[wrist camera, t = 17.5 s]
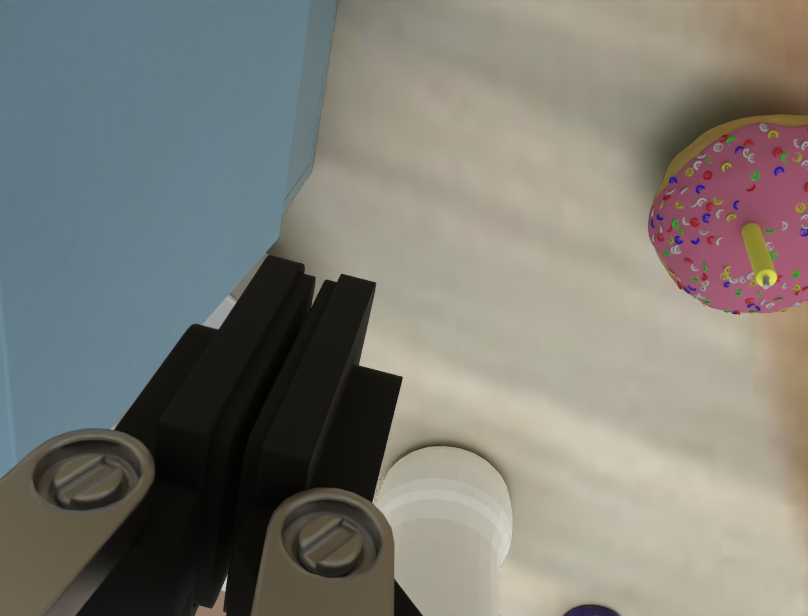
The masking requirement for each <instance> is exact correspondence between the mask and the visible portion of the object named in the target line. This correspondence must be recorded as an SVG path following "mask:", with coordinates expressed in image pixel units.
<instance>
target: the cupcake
mask: <svg viewBox="0 0 808 616" xmlns="http://www.w3.org/2000/svg"><path fill="white" fill-rule="evenodd" d="M648 232H649V237H650V240H651V242H652V244H653V246H654V247H655V249H656V252H657V254H658V257H659V259H660V260H661V262H662V264H663V265H664V267H665V269H666V270H667V272H668V273H669V275H670V276H671V277H672V279H673V280H674V281H675V283H676V284H677V285H678V287H679V289H683V290H684V291H685V292H687V293H688V294H690V295H692V296H693V297H694V298H695V299H698V300H700V301H701V302H702V304H703V306H704V307H705V304H706V305H707V306H709V307H711V308H715V309H720V310H724V312H732V314H739V315H740V312H743V313H772V312H778V311H782V312H784V311H787V310H788V309H789V308H791V307H798V306H800V303H802V302H804V301H807V300H808V115H763V116H753V117H746V118H741V119H737V120H733V121H730V122H727V123H724V124H721V125H719V126H716V127H714V128H712V129H710V130H708V131H706V132H705V133H703V134H702V135H701V136H699V137H698V138H697V139H696V140H695V141H694V142H692V143H691V144H690V145H689V146H688V147H686V148H685V149H684V150H682V151H681V152H680V153H678V154H677V155H676V156H675V157H674V159H673V160H672V161H671V163H670V165H669V167H668V169H667V171H666V173H665V176H664V178H663V181H662V183H661V185H660V187H659V189H658V191H657V193H656V194H655V197H654V200H653V205H652V207H651V210H650V214H649V221H648ZM726 310H727V311H726Z"/></svg>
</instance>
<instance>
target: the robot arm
mask: <svg viewBox="0 0 808 616" xmlns="http://www.w3.org/2000/svg"><path fill="white" fill-rule="evenodd" d="M304 272H305V266H304V264H302V263H298V262H294V261H290V260H286V259H282V258H278V257H274V256H270V255H268V256H267V257H266V258H265V260H264V261H263V263H262V264H261V266H260V267H259V269H258V270H257V272H256V273H255V275H254V277H253V278H252V280H251V281H250V283H249V284H248V286H247V287H246V289H245V290H244V292H243V293H242V295H241V296H240V298H239V299H238V301H237V302H236V304H235V305H234V307H233V308H232V310H231V311H230V313H229V314H228V316H227V317H226V319H225V320H224V322H223V323H222V325H221V326H220V328H219V329H215V328H211V327H208V326H204V325H200V324H192V325H191V326H190V327H189V328H188V329H187V330H186V331H185V333H184V334H183V336H182V337H181V338H180V340H179V341H178V342H177V344H176V345H175V347H174V348H173V349H172V351H171V352H170V353H169V355H168V356H167V358H166V359H165V360H164V362H163V363H162V364H161V366H160V367H159V369H158V370H157V371H156V373H155V374H154V375H153V377H152V378H151V380H150V381H149V382H148V384H147V385H146V386H145V388H144V389H143V391H142V392H141V393H140V395H139V396H138V397H137V399H136V400H135V401H134V403H133V404H132V406H131V407H130V408H129V410H128V411H127V412H126V414H125V415H124V417H123V418H122V419H121V421H120V422H119V423H118V425H117V426H116V428H115V429H114V430H111V429H102V428H86V429H80V430H74V431H68V432H65V433H63V434H60V435H57V436H55V437H52V438H50V439H48V440H46V441H45V442H43V443H42V444H41V445H39V446H38V447H36V448H35V449H33V450H32V451H31V452H30V453H29V454H28V455H26V456H25V457H24V458H23V459H22V460H21V461H20V462H19V463H17V464H16V465H15V466H14V467H13V468H12V469H11V470H10V471H8V472H7V473H6V474H5V475H4V476H3V477H2V478H1V479H0V616H195V613H196V611H197V609H198V606H199V605H200V606H204V607H208V608H212V607H213V606H214V604H215V602H216V600H217V598H218V596H219V593H220V591H221V588H222V586H223V584H224V581H225V579H226V577H227V574H228V577H227V584H226V592H225V600H224V609H223V611H224V612H226V613H227V614H226V616H423V615H422V614H421V612H420V611H419V610H418V609H417V607H416V606H415V605H414V603H413V602H412V601H411V599H410V598H409V597H408V595H407V594H406V593H405V592H404V590H403V589H402V588H401V586H400V585H399V584H398V582H397V581H396V580H395V579H394V546H395V544H394V538H393V533H392V528H391V526H390V525H389V523H388V521H387V519H386V518H385V516H384V514H383V513H382V512H381V511H380V510H379V509H378V508H377V507H376V506H375V505H374V504H372V501H373V497H374V493H375V488H376V484H377V480H378V476H379V472H380V468H381V464H382V460H383V456H384V452H385V448H386V444H387V440H388V436H389V432H390V428H391V424H392V419H393V415H394V411H395V407H396V403H397V399H398V395H399V391H400V387H401V383H402V379H403V377H401V376H397V375H393V374H390V373H386V372H382V371H378V370H374V369H370V368H366V367H362V366H359V362H360V357H361V353H362V348H363V344H364V339H365V335H366V330H367V325H368V321H369V316H370V312H371V307H372V303H373V298H374V294H375V288H376V282H372V281H368V280H364V279H360V278H356V277H352V276H348V275H345V274H341V275H340V277H339V279H338V281H337V282H334V281H330V280H325V281H324V283H323V285H322V287H321V289H320V291H319V293H318V295H317V297H316V299H315V301H314V303H313V305H312V299H313V293H314V288H315V277H314V276H311V275H307V274H304ZM311 305H312V307H311Z"/></svg>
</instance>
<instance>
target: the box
mask: <svg viewBox="0 0 808 616" xmlns="http://www.w3.org/2000/svg"><path fill="white" fill-rule="evenodd" d="M337 4H338V0H311V4H310V12H309V19H308V26H307V34H306V41H305V48H304V56H303V63H302V71H301V78H300V85H299V93H298V100H297V108H296V115H295V122H294V130H293V137H292V144H291V152H290V159H289V167H288V174H287V181H286V189H285V196H284V204H283V211H282V216H283V214H284V213H285V211H286V210H287V208H288V207H289V205H290V204H291V202H292V201H293V199H294V198H295V196H296V195H297V193H298V192H299V190H300V189H301V187H302V186H303V184H304V183H305V181H306V180H307V178H308V177H309V176H310V174H311V173H312V167H313V160H314V154H315V147H316V141H317V134H318V128H319V121H320V115H321V108H322V102H323V95H324V89H325V82H326V75H327V69H328V62H329V56H330V49H331V43H332V36H333V30H334V23H335V17H336V10H337Z"/></svg>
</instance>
